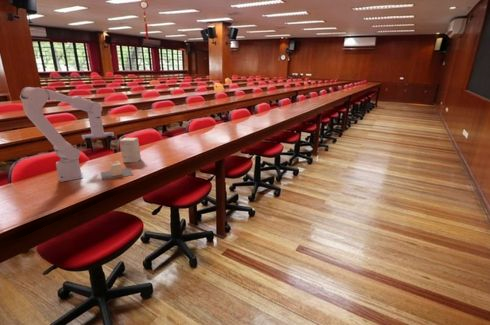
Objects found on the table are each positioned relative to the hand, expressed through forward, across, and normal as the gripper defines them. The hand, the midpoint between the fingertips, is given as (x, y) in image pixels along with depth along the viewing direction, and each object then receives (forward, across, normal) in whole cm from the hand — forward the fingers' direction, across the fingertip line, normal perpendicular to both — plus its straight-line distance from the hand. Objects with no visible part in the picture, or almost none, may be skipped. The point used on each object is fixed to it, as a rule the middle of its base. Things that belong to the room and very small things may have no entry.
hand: (101, 150), depth 144 cm
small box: (+10, -15, -5) cm, 18 cm away
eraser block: (+9, -5, +13) cm, 17 cm away
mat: (+9, -5, +14) cm, 17 cm away
